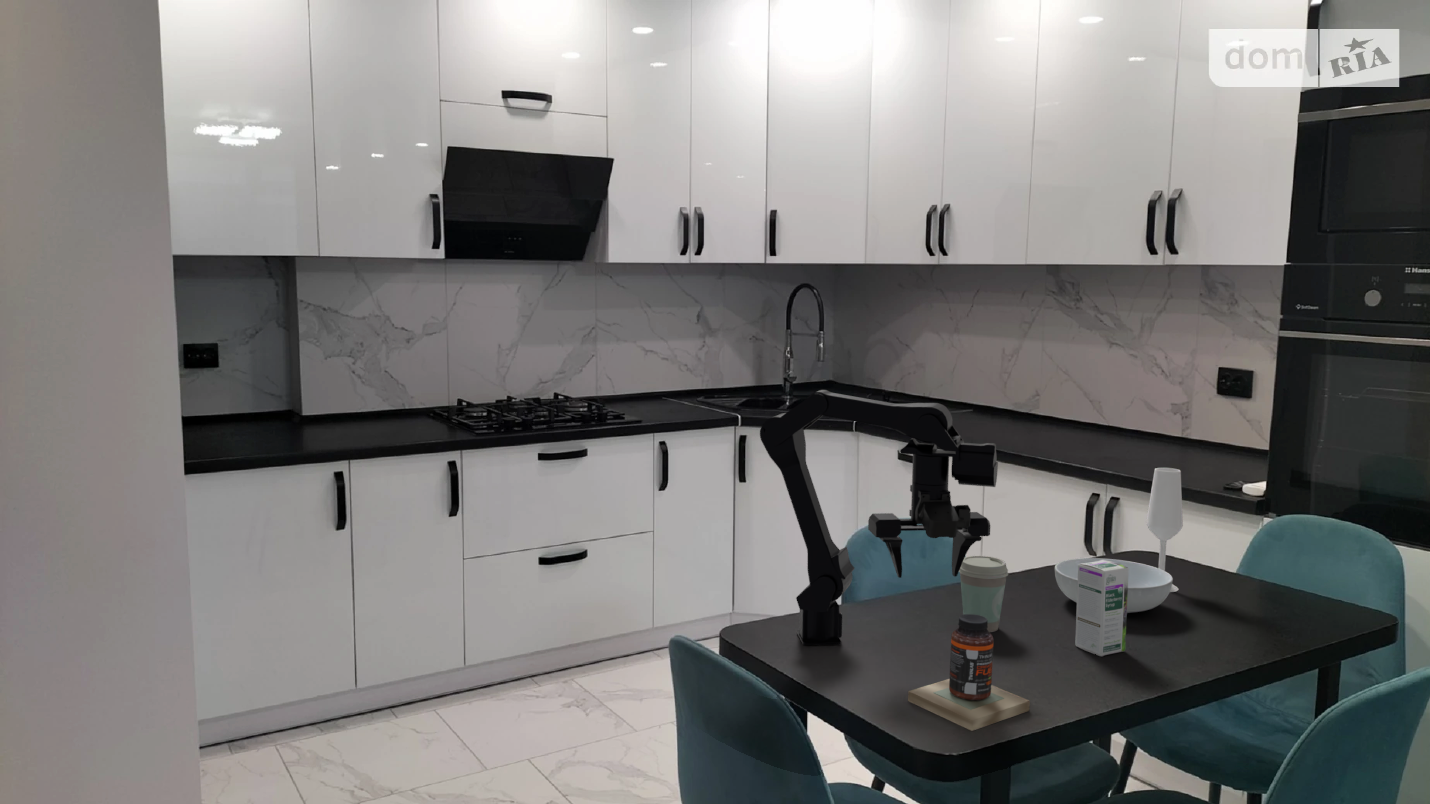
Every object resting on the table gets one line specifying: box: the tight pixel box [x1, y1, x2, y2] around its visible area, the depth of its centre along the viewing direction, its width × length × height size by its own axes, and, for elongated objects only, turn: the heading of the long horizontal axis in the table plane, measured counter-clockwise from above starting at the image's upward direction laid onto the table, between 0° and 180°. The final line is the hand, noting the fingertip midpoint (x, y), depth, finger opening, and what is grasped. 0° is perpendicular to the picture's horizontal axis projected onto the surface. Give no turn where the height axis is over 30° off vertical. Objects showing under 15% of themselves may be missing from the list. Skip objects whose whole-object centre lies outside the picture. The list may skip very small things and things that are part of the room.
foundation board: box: [907, 678, 1031, 732], centre depth 148 cm, size 12×12×2 cm
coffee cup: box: [958, 555, 1009, 633], centre depth 181 cm, size 8×8×12 cm
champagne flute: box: [1145, 467, 1184, 593], centre depth 206 cm, size 7×7×24 cm
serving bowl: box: [1054, 557, 1174, 614], centre depth 194 cm, size 21×21×7 cm
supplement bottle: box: [948, 614, 994, 701], centre depth 147 cm, size 6×6×11 cm
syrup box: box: [1074, 560, 1129, 657], centre depth 171 cm, size 6×6×14 cm
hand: (927, 576), depth 167 cm, fingers open, 9 cm apart
